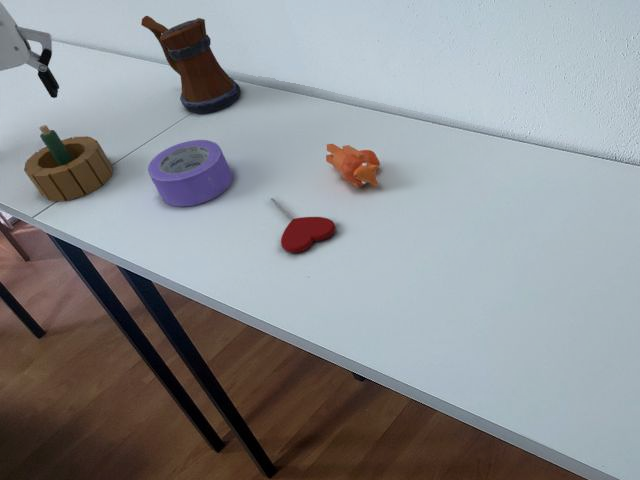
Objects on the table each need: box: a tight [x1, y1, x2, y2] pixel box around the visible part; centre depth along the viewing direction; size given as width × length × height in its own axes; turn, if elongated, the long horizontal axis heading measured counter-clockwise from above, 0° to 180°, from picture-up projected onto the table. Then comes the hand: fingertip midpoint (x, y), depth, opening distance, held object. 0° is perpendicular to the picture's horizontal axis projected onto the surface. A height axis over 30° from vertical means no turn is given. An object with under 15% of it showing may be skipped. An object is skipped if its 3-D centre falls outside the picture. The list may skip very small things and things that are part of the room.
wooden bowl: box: [23, 136, 114, 202], centre depth 109 cm, size 12×12×5 cm
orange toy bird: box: [325, 143, 381, 188], centre depth 99 cm, size 5×8×12 cm
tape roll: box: [147, 139, 233, 208], centre depth 103 cm, size 12×12×5 cm
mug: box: [141, 15, 241, 115], centre depth 122 cm, size 18×12×15 cm, turn 53°
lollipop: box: [270, 197, 336, 254], centre depth 94 cm, size 8×1×15 cm
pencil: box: [38, 124, 74, 166], centre depth 107 cm, size 2×2×10 cm
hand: (23, 102), depth 101 cm, fingers open, 9 cm apart
